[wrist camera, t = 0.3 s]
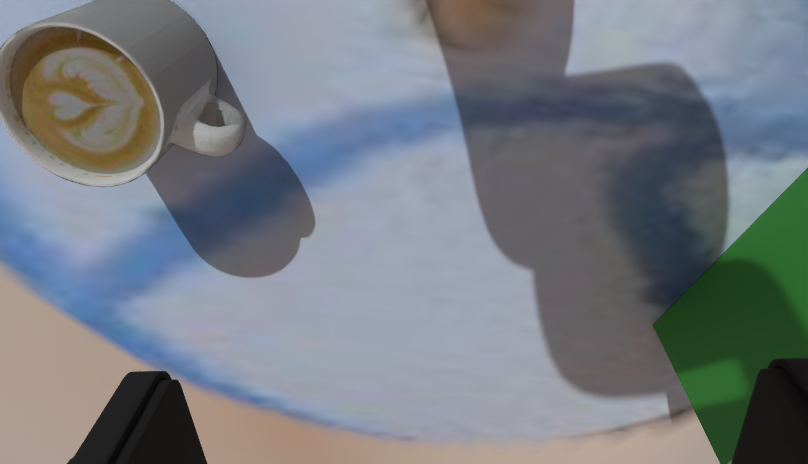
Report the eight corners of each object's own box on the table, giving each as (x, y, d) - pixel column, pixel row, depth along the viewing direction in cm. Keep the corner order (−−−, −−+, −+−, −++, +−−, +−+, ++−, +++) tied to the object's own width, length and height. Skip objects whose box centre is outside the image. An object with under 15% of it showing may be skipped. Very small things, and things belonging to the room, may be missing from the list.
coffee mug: (59, 79, 44) (-31, 127, 36) (109, -41, 40) (21, -19, 32) (222, 177, 48) (176, 243, 39) (284, 77, 44) (247, 126, 35)
